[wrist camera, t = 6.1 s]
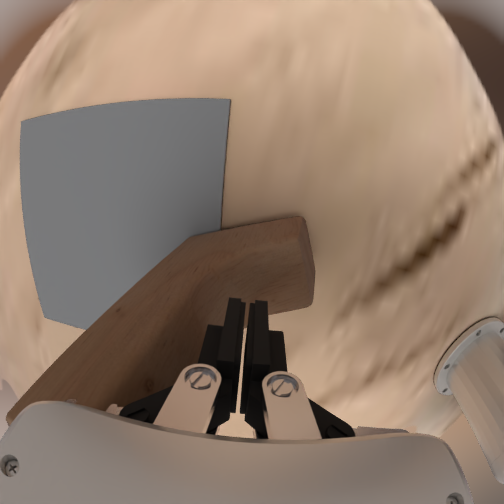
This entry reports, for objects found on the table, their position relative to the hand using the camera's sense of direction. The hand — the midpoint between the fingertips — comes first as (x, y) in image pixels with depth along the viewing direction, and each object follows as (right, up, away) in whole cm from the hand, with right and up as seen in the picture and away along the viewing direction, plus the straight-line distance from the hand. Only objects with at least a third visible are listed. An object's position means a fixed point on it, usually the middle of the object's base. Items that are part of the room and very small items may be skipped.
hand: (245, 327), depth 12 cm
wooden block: (0, +3, +9) cm, 9 cm away
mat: (-13, +5, +10) cm, 17 cm away
